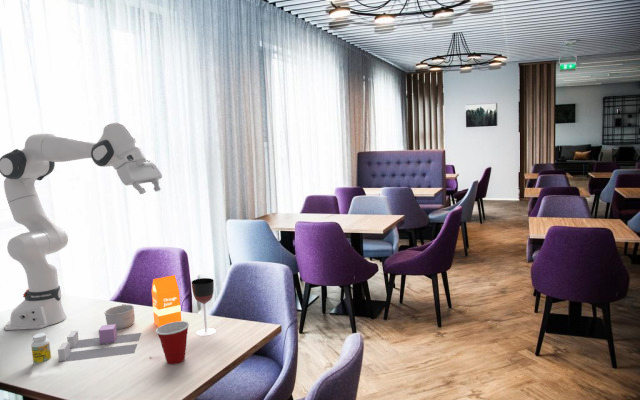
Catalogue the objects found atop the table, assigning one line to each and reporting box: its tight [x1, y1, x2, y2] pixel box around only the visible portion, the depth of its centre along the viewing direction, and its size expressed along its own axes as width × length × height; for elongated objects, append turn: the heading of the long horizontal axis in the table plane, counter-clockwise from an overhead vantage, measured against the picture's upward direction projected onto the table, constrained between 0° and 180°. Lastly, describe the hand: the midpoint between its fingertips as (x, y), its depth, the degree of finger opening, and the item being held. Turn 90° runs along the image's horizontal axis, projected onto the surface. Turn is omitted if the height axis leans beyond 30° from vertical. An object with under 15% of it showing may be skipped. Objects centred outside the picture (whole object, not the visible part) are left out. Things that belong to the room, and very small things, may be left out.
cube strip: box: [66, 330, 142, 350], centre depth 181 cm, size 24×8×5 cm, turn 103°
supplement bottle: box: [30, 332, 52, 366], centre depth 167 cm, size 5×5×10 cm
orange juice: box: [151, 274, 182, 328], centre depth 196 cm, size 8×9×20 cm
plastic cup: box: [155, 320, 190, 365], centre depth 164 cm, size 11×11×12 cm
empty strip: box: [57, 341, 138, 363], centre depth 170 cm, size 24×8×5 cm, turn 103°
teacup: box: [104, 303, 136, 330], centre depth 198 cm, size 14×11×8 cm
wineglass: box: [191, 277, 217, 337], centre depth 188 cm, size 8×9×20 cm
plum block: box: [98, 324, 118, 344], centre depth 181 cm, size 5×5×5 cm
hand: (150, 192), depth 187 cm, fingers open, 8 cm apart
